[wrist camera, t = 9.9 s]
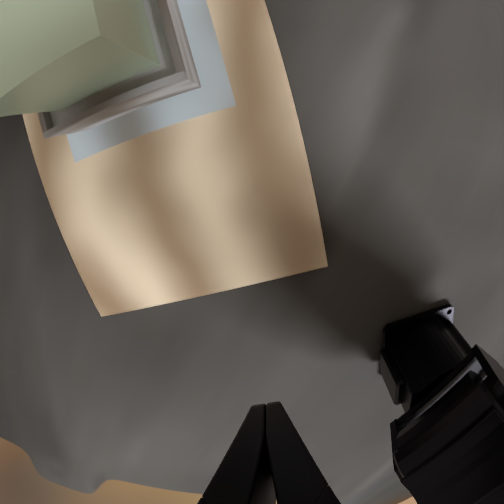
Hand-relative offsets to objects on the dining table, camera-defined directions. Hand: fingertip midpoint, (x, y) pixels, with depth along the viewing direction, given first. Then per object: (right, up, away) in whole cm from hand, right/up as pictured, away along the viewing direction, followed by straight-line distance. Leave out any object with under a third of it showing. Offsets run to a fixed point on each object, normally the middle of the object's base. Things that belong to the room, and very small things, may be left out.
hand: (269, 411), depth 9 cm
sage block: (-7, +14, +2) cm, 16 cm away
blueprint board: (-6, +11, +9) cm, 15 cm away
